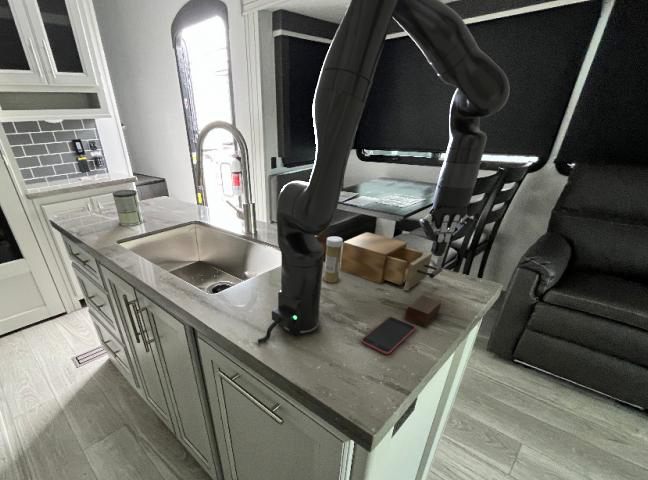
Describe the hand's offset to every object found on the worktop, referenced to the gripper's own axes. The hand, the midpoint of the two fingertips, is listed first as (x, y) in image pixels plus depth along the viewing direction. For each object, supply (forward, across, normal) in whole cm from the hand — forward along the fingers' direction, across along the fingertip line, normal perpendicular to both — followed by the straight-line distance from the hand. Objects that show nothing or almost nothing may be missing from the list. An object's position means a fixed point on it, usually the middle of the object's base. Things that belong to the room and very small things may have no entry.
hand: (436, 254), depth 81 cm
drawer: (+13, 0, -13) cm, 18 cm away
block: (+14, +4, +7) cm, 16 cm away
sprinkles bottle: (+14, +22, -16) cm, 31 cm away
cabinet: (+14, +7, -22) cm, 27 cm away
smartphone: (+14, +15, +14) cm, 25 cm away
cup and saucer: (+14, +20, -36) cm, 43 cm away
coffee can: (+14, +103, -84) cm, 133 cm away
